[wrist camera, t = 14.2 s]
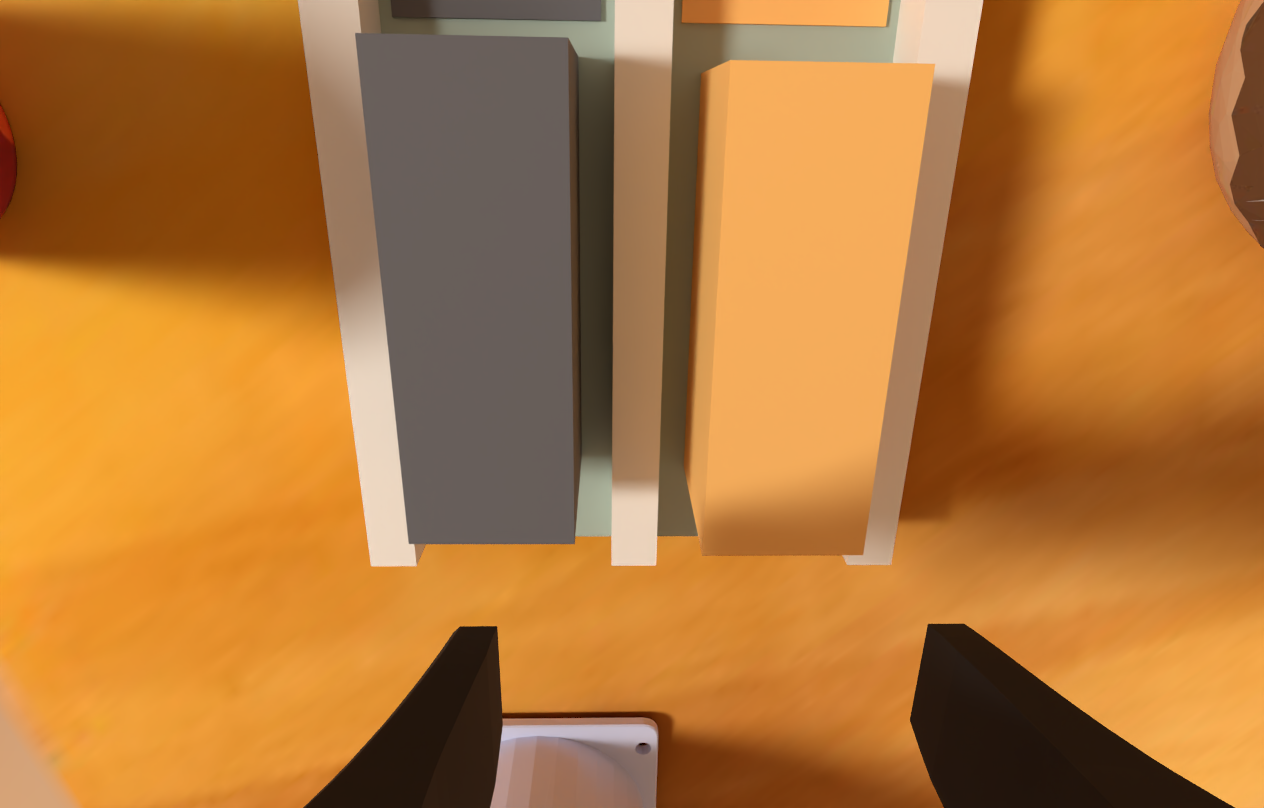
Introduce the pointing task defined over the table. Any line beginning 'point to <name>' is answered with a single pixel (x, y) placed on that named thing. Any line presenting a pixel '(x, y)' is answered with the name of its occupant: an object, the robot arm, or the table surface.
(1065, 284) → the table surface
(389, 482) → the comb board
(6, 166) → the paper cup
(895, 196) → the wooden block
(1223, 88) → the donut
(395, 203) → the dark grey block
